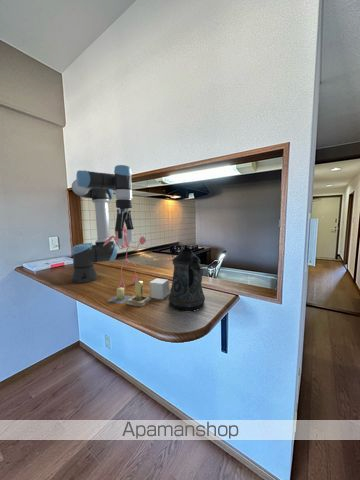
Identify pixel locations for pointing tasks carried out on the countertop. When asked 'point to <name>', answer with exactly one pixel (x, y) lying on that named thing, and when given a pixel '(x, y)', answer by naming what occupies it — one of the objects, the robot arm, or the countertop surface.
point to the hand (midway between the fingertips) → (125, 243)
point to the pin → (138, 290)
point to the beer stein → (186, 283)
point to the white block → (159, 288)
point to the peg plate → (120, 296)
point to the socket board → (139, 303)
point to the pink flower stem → (126, 261)
